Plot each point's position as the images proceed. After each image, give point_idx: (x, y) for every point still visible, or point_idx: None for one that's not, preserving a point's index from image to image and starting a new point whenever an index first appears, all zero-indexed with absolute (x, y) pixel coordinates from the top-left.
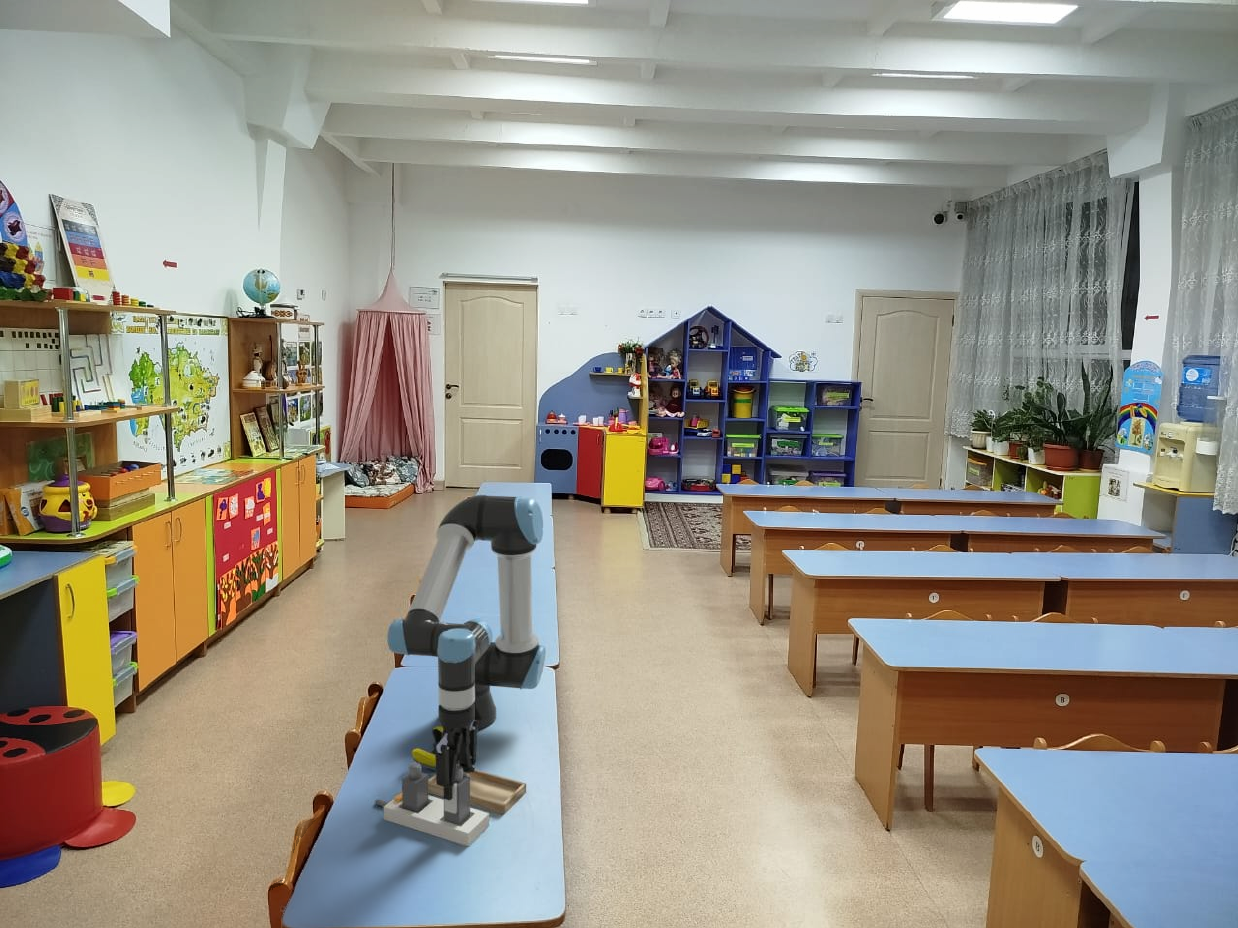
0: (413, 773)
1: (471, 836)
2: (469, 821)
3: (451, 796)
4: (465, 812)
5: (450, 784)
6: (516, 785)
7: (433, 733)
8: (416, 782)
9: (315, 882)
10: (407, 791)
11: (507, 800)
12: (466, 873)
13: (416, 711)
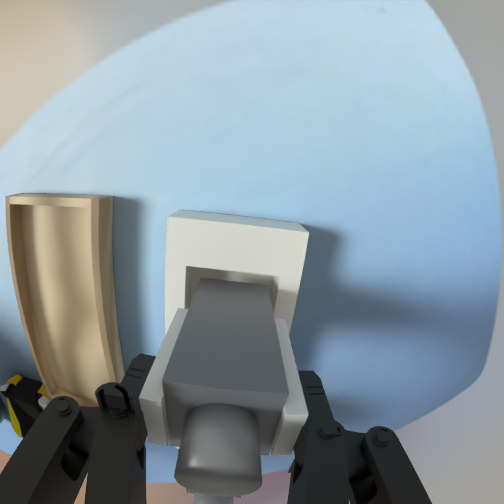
0: (231, 501)
1: (286, 225)
2: (241, 261)
3: (301, 379)
4: (229, 292)
5: (343, 432)
6: (16, 222)
7: None
8: None
9: (430, 407)
10: None
11: (73, 202)
12: (402, 178)
13: (19, 440)
